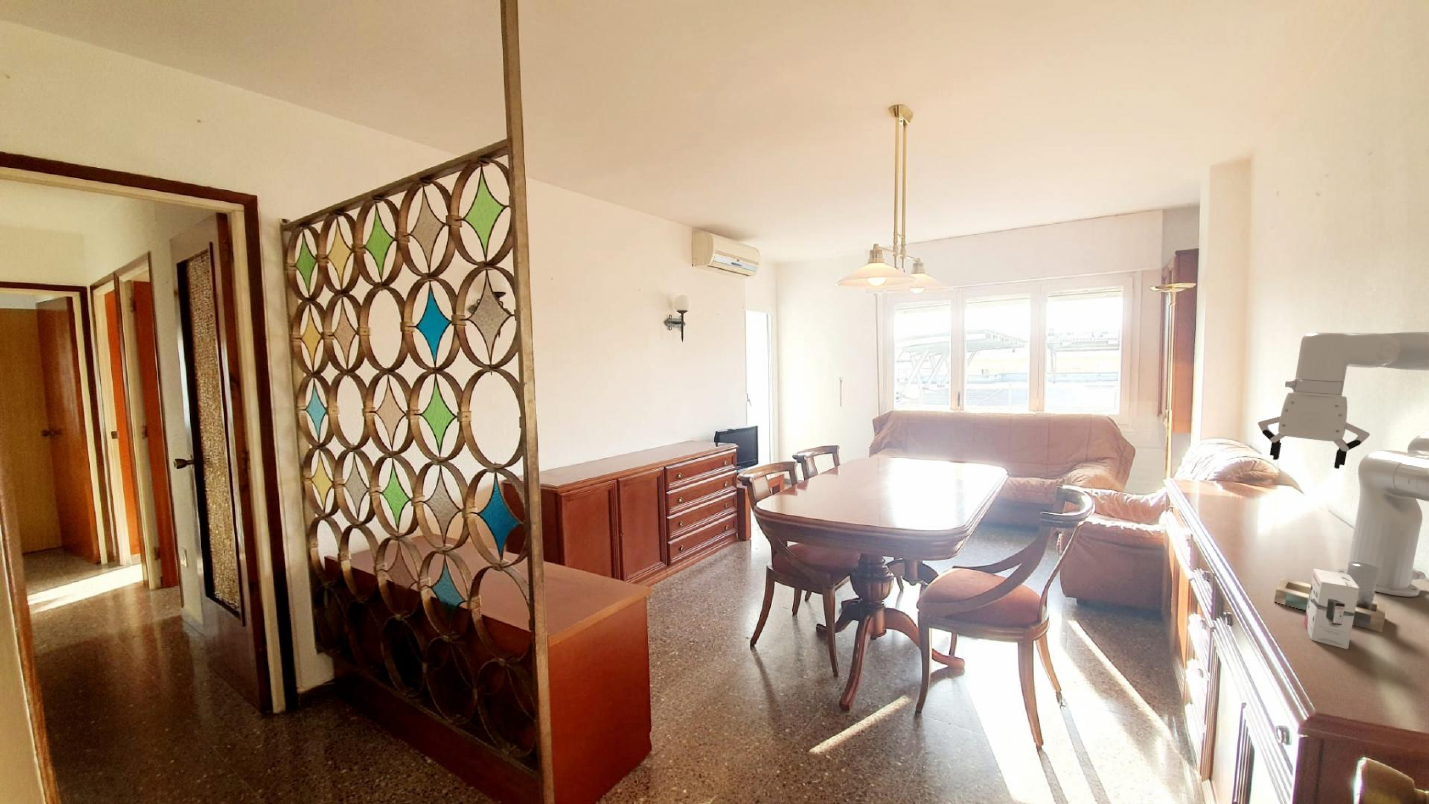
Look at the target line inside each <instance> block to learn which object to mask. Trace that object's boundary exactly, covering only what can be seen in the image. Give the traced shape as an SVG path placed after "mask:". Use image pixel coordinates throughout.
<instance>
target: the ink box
mask: <svg viewBox="0 0 1429 804" xmlns="http://www.w3.org/2000/svg"><path fill="white" fill-rule="evenodd" d="M1310 582H1311V583H1310V584H1311V588H1310V593H1309V599H1308V605H1307V610H1306V611H1305V615H1304V621H1303V624H1304V626H1305V629H1306V632H1307V633H1308V635H1309V638H1310V639H1311V641H1315V642H1319V643H1321V644H1326V645H1330V646H1333V647H1337V648H1341V649H1345V650H1348V649H1349V647H1350V646H1349V644H1350V640H1351V634H1352V629H1353V619H1354V614H1355V609H1356V604H1357V599H1358V594H1359V587H1358V585H1357V584H1356V583H1355V581H1354V580H1353V579H1352V577H1351V576H1350V575H1348V574H1343V573H1337V571H1331V570H1324V569H1320V568H1315V567H1314V568H1313V570H1312V576H1311V581H1310Z"/></svg>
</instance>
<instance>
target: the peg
mask: <svg viewBox="0 0 1429 804" xmlns="http://www.w3.org/2000/svg"><path fill="white" fill-rule="evenodd" d="M1347 567H1348V570H1347V574H1348V575H1350V576H1351V577H1352V579H1353V580H1354V581H1355V583H1356V584H1357V585H1358V587H1359V594H1358V599H1357V604H1356V607H1359V608H1363V609H1367V610H1370V611H1371V608H1372V603H1373V600H1374V598H1375V593H1376V591H1375V587H1376V582H1377V577H1378V572H1379V568H1377V567H1375V566H1372V565H1369V564H1365V563H1360V562H1349V565H1348V564H1347Z"/></svg>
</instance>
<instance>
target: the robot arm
mask: <svg viewBox="0 0 1429 804" xmlns="http://www.w3.org/2000/svg"><path fill="white" fill-rule="evenodd" d="M1348 367H1351V368H1366V369H1370V368H1371V369H1372V368H1373V369H1374V368H1387V369H1394V370H1407V371H1408V370H1409V371H1410V370H1411V371H1429V331H1407V332H1406V331H1405V332H1404V331H1403V332H1389V333H1386V332H1385V333H1378V332H1309V333H1307V334H1305V335H1303V336H1302V337H1301V342H1300V346H1299V352H1298V359H1297V367H1296V372H1295V379H1293V380H1291V381H1290V380H1289V381H1288V380H1286V381H1285V383H1284V387H1285V388H1289V389H1291V390H1292V392H1287V394H1286V397H1285V399H1284V403H1283V405H1282V409H1281V411H1280V416H1275V417H1272V418H1268V419H1265V420H1260V421H1258V422H1257V425H1258V426H1259V429H1260V430H1261V432H1262V434H1263V435H1264V436H1265V437H1266V438H1267V439H1268V440H1269V441H1270V442H1271V444H1270V445H1271V446H1270V450H1269V456H1271V457H1272V456H1273V457H1272V460H1273V461H1277V460H1279V458H1280V453H1281V447H1282V442H1281V440H1282V439H1283V438H1285V437H1287V438H1289V437H1290V438H1297V439H1303V440H1304V439H1306V440H1314V441H1315V440H1316V441H1324V442H1333V443H1334V444H1335V445H1336V446H1337V447H1338V449H1337V450H1336V453H1335V459H1334V463H1333V464H1334V466H1333V468H1334V469H1337V470H1339V469H1340V467H1341V466H1345V464H1346V458H1347V453H1348V452H1349V451H1350V450H1352V449H1354V448H1356V447H1358V446H1360V445H1361V444H1363V442H1365V441H1366V440H1367V439H1368V438H1369V437H1370V436H1371V434H1370V432H1368V431H1366V430H1364V429H1362V428H1360V427H1357V426H1356V425H1354V424H1351V423H1349V422H1348V421H1347V419H1348V400H1347V399H1348V398H1347V396H1344V395H1343V391H1344V387H1345V386H1344V385H1345V379H1346V375H1347V369H1348ZM1276 423H1277V424H1278V428H1277V432H1278V433H1277V434H1274V433H1273V432H1272V431H1271V430H1270V428H1269V425H1273V424H1274V425H1275V424H1276ZM1346 430H1347V431H1349V432H1351V433H1352V434H1355V435H1357V437H1356V438H1355V439H1353V440H1351V441H1349V442H1346V441H1345V440H1344V439H1343V438H1344V437H1345V432H1346ZM1357 471H1358V472H1357V475H1358V484H1359V500H1358V505H1357V506H1358V507H1357V513H1356V517H1355V524H1354V529H1353V533H1352V540H1351V546H1350V550H1349V556H1348V562H1347V567H1346V568H1340V569H1337V570H1336V572H1337V573H1343V574H1347V570H1348V565H1349V562H1360V563H1365V564H1369V565H1372V566H1375V567H1377V568H1379V572H1378V577H1377V582H1376V587H1375V593H1376V592H1378V593H1381V594H1384V595H1385V594H1386V595H1389V596H1391V595H1392V596H1396V597H1408V598H1410V597H1418V596H1420V591H1421V590H1420V589H1419V588H1418V587H1417V586H1416V585H1413V584H1412V583H1413V582H1412V581H1413V580H1424V579H1426V574H1425V573H1424V572H1423V571H1421V570H1413V569H1414V568H1413V567H1414V563H1415V557H1416V552H1417V548H1418V542H1419V537H1420V533H1421V527H1422V524H1423V512H1422V509H1421V505H1420V503H1419V502H1418V500H1419V501H1420V500H1421V501H1424V502H1429V429H1427V430H1425V431H1424V432H1422V433H1420V434H1419V435H1417V436H1416V437H1414V439H1412V440H1411V441H1410V443H1409V444H1408V445H1407V452H1405V451H1400V450H1399V451H1398V450H1392V449H1391V450H1384V449H1383V450H1377V451H1372V452H1370V453H1368V454H1366V455H1365V456H1364V457H1363V458H1362V459H1361V460H1360V462H1359V464H1358V469H1357Z"/></svg>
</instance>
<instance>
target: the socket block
mask: <svg viewBox="0 0 1429 804" xmlns="http://www.w3.org/2000/svg"><path fill="white" fill-rule="evenodd" d="M1310 588H1311V583H1306V582H1301V581H1300V580H1299V581H1298V580H1294V579H1290V578H1287V577H1282V578H1281V579H1280V581H1279V583H1278V585H1277V587H1276V589H1275V594H1274V598H1273V599H1274V601H1273V603H1274V602H1277V603H1276V604H1278V603H1284V604H1285V605H1287V606H1286V607H1289V606H1293V607H1295V608H1294V609H1296V608H1298V609H1297V610H1299V609H1303V610H1307V605H1308V599H1309V593H1310ZM1285 605H1284V606H1285ZM1386 607H1387V603H1385V602H1382V601H1377V600H1374V599H1373V603H1372V608H1371V611H1370V610H1367V609H1363V608H1359V607H1356V609H1355V614H1354V619H1353V624H1352V626H1357V627H1361V628H1363V629H1368V630H1372V631H1375V632H1378V633H1383V630H1384V624H1385V620H1386ZM1303 610H1302V611H1303Z"/></svg>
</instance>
